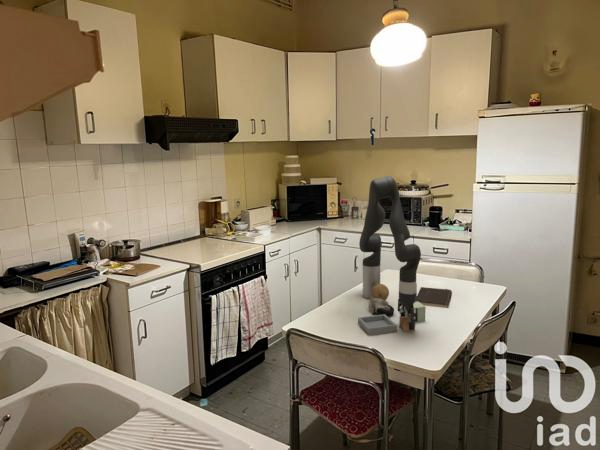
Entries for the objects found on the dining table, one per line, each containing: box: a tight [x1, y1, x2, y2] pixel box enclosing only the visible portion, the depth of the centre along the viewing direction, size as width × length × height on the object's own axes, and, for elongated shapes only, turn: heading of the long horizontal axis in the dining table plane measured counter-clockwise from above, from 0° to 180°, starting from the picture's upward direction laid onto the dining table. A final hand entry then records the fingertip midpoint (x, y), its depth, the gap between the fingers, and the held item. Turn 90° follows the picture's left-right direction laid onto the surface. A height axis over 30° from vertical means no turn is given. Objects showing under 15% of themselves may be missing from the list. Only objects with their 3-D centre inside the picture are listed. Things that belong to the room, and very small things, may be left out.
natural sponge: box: [371, 283, 390, 301], centre depth 230 cm, size 9×9×10 cm
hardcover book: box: [416, 286, 453, 309], centre depth 235 cm, size 16×23×2 cm
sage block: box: [406, 302, 426, 323], centre depth 208 cm, size 7×7×7 cm
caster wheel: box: [368, 296, 395, 318], centre depth 217 cm, size 7×11×10 cm
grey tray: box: [357, 314, 398, 336], centre depth 201 cm, size 13×13×3 cm
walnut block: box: [399, 316, 416, 333], centre depth 198 cm, size 5×5×5 cm
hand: (407, 326), depth 198 cm, fingers open, 8 cm apart
